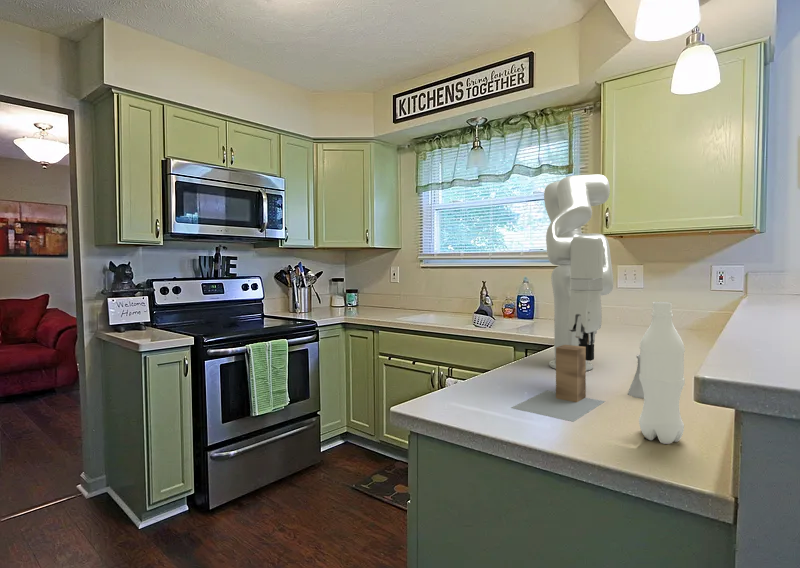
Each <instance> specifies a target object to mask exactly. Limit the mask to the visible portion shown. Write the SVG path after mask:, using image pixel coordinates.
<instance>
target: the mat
mask: <svg viewBox="0 0 800 568" xmlns="http://www.w3.org/2000/svg"><path fill="white" fill-rule="evenodd" d="M605 402H606V400H600V399H596V398H589V397H586V398H584V399H582V400H580V401H579V402H572V401H567V400H562V399H557V398H556V391H551V390H545V391H543V392H541V393H538V394H537V395H534V396H532V397H530V398H528V399H526V400H524V401H522V402H520V403H517V404H515V405H513V406H511V407H510V408H511V409H513V410H519V411H522V412H527V413H532V414H536V415H540V416H545V417H550V418H553V419H558V420H564V421H569V422H573V423H574V422H575V421H577V420H579V419H580V418H582V417H583V416H585V415H587V414H588V413H590V412H591V411H593V410H594V409H596V408H597V407H599V406H601V405H602V404H604V403H605Z"/></svg>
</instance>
